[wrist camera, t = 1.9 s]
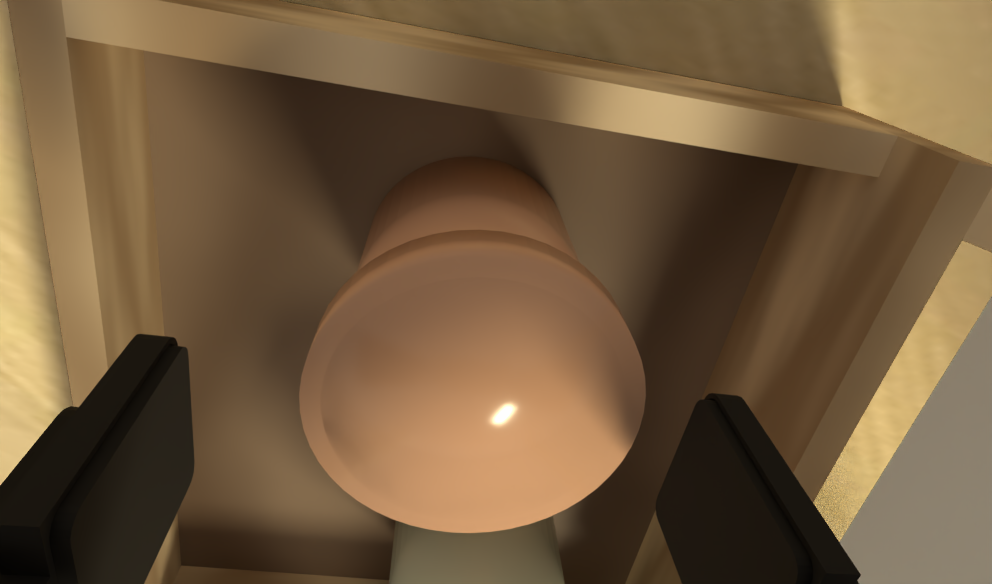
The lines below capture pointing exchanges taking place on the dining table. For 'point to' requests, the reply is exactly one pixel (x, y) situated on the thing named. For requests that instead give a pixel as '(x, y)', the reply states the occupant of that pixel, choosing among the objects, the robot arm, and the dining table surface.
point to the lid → (938, 474)
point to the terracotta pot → (471, 359)
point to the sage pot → (477, 556)
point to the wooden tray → (395, 154)
